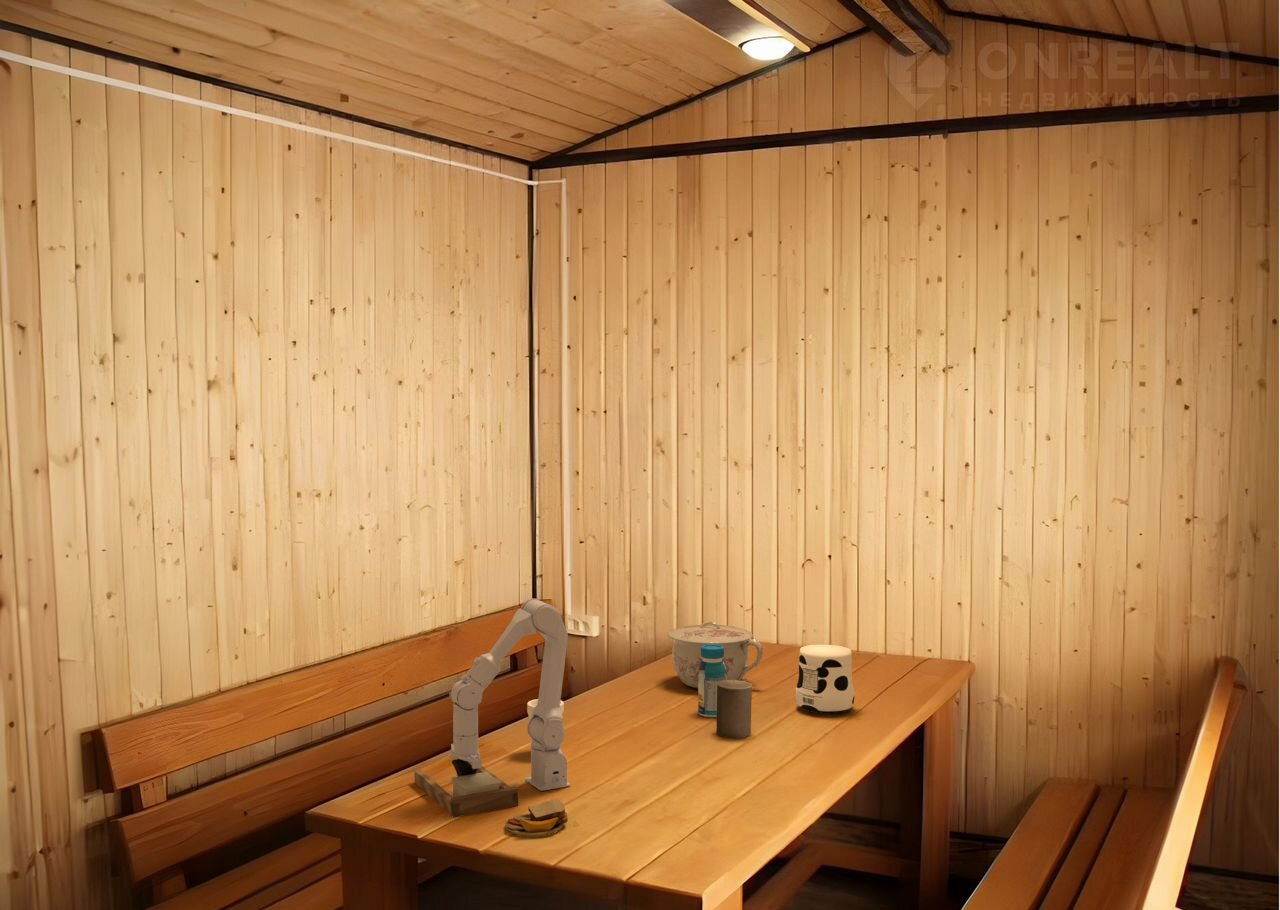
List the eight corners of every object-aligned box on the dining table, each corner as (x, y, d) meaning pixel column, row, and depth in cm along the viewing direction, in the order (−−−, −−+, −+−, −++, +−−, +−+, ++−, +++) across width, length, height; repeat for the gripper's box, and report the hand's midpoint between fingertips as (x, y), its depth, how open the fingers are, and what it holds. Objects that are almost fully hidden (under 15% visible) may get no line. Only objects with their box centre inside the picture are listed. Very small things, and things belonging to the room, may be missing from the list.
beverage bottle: (716, 719, 340) (716, 650, 339) (691, 714, 346) (692, 646, 345) (732, 713, 347) (732, 645, 346) (708, 708, 352) (708, 642, 351)
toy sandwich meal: (502, 820, 261) (502, 799, 260) (563, 816, 264) (563, 795, 263) (508, 841, 249) (508, 819, 248) (572, 836, 251) (572, 814, 251)
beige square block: (500, 804, 269) (500, 782, 269) (464, 811, 265) (464, 788, 265) (486, 793, 277) (486, 771, 277) (451, 799, 273) (451, 777, 272)
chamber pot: (652, 680, 387) (653, 617, 386) (726, 671, 399) (726, 610, 398) (692, 700, 362) (692, 633, 361) (769, 691, 374) (770, 625, 372)
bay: (518, 805, 269) (518, 788, 269) (453, 817, 262) (453, 799, 262) (475, 772, 292) (475, 756, 292) (414, 782, 285) (414, 766, 285)
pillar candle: (710, 734, 325) (711, 681, 324) (724, 725, 334) (725, 673, 333) (743, 740, 321) (744, 685, 320) (756, 731, 330) (757, 677, 329)
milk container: (852, 703, 359) (852, 644, 358) (856, 718, 342) (857, 657, 341) (794, 701, 361) (795, 643, 360) (796, 717, 344) (796, 655, 343)
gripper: (438, 727, 280) (439, 784, 281) (460, 743, 267) (460, 802, 268) (466, 723, 283) (467, 779, 284) (489, 739, 271) (490, 797, 272)
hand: (466, 790), depth 276 cm, fingers closed
